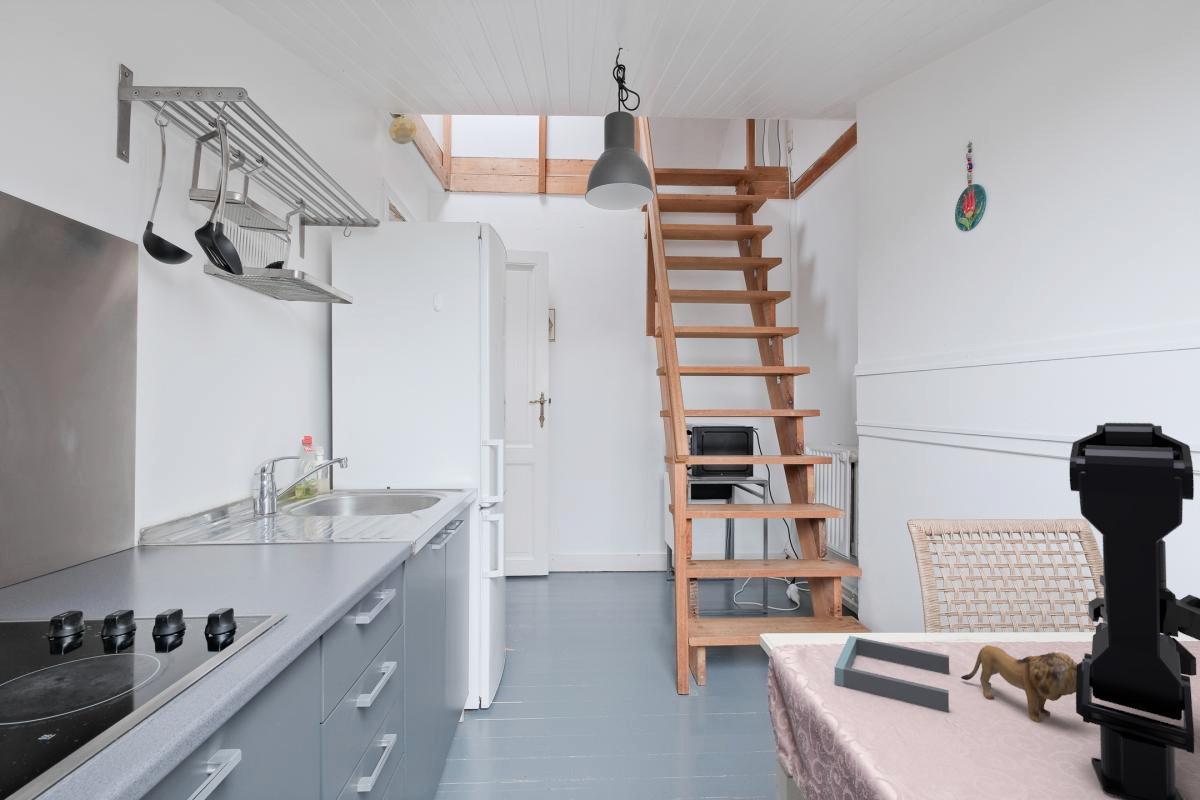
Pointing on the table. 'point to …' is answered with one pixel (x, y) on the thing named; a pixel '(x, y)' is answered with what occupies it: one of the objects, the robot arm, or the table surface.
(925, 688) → the chassis bay
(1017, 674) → the lion figurine
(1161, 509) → the robot arm
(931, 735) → the table surface
